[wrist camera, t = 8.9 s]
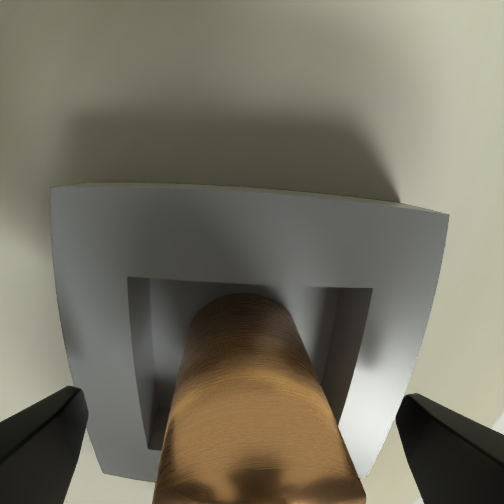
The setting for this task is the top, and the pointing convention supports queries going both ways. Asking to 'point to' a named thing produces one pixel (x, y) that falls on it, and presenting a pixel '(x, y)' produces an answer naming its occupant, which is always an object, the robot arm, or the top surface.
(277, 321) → the battery cell
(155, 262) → the gray cradle
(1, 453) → the robot arm
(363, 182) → the top surface
